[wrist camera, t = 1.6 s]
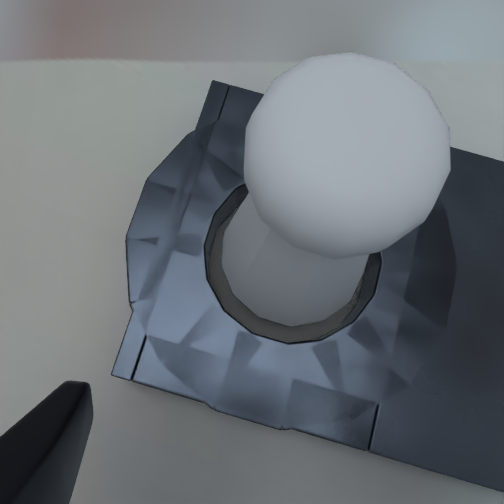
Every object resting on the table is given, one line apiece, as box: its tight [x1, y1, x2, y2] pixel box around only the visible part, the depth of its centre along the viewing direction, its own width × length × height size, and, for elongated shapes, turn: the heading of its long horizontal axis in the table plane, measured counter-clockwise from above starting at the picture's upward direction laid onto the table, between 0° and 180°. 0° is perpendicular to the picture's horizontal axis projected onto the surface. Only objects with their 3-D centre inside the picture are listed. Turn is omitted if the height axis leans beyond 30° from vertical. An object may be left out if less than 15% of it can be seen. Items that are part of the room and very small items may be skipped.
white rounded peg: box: [221, 52, 451, 327], centre depth 15 cm, size 6×6×13 cm
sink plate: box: [111, 80, 504, 492], centre depth 20 cm, size 25×13×2 cm, turn 74°
